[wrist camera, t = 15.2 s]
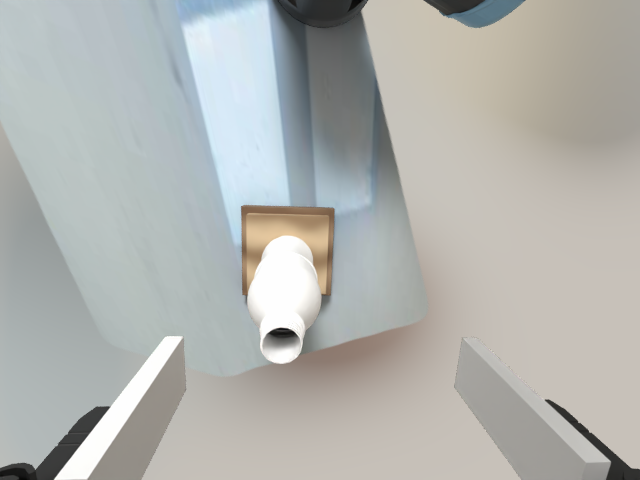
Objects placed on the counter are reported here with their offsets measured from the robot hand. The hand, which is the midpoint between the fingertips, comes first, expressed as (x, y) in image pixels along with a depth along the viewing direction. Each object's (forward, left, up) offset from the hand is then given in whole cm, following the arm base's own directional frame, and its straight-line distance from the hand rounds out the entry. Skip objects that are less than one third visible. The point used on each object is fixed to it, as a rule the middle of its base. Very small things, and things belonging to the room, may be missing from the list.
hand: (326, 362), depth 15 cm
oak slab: (+3, -2, -34) cm, 34 cm away
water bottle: (+3, -2, -32) cm, 33 cm away
